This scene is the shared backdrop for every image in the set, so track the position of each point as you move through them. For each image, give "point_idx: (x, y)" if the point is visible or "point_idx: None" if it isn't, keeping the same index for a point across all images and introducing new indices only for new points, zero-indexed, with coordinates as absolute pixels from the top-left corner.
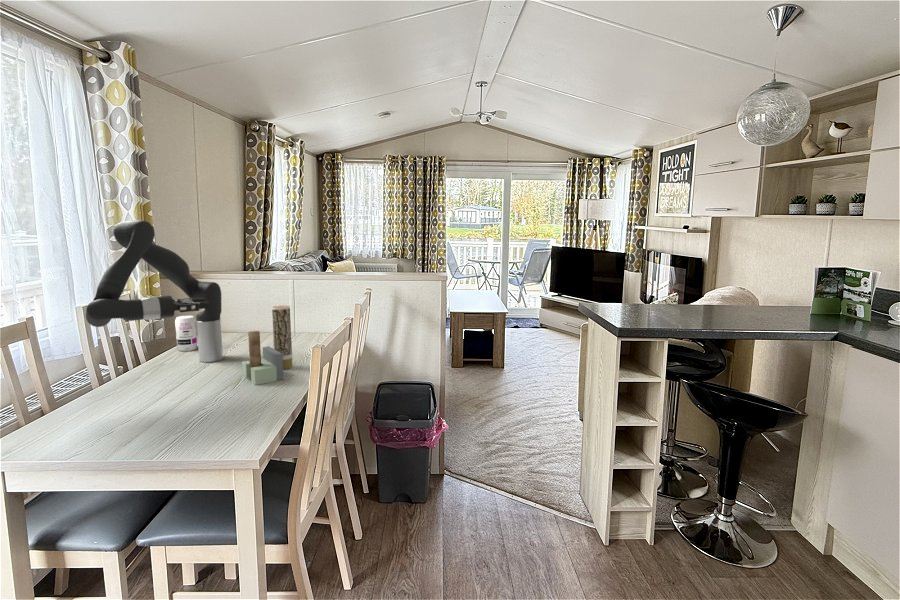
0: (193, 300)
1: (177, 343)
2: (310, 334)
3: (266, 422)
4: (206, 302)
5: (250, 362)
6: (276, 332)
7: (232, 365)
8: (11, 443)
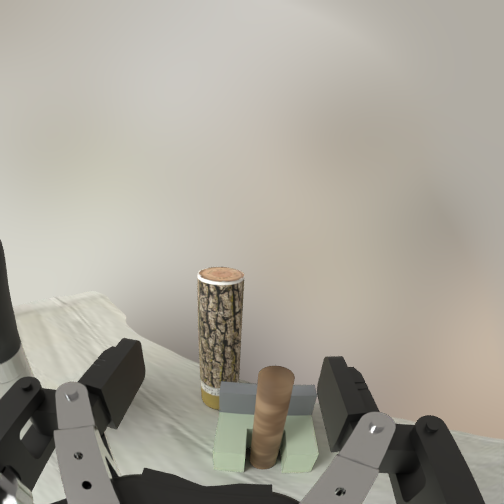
0: (99, 397)
1: None
2: (91, 302)
3: (499, 453)
4: (349, 375)
5: (269, 446)
6: (228, 342)
7: (113, 442)
8: None
